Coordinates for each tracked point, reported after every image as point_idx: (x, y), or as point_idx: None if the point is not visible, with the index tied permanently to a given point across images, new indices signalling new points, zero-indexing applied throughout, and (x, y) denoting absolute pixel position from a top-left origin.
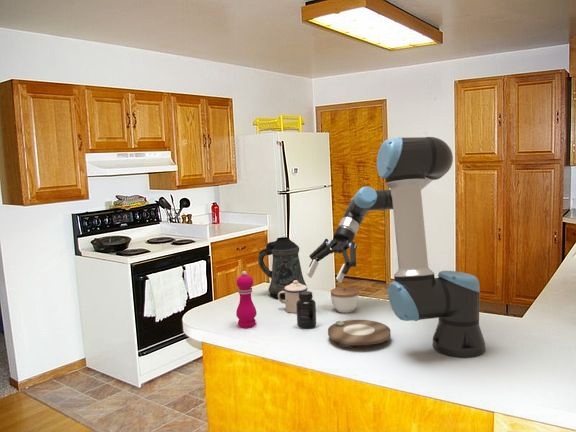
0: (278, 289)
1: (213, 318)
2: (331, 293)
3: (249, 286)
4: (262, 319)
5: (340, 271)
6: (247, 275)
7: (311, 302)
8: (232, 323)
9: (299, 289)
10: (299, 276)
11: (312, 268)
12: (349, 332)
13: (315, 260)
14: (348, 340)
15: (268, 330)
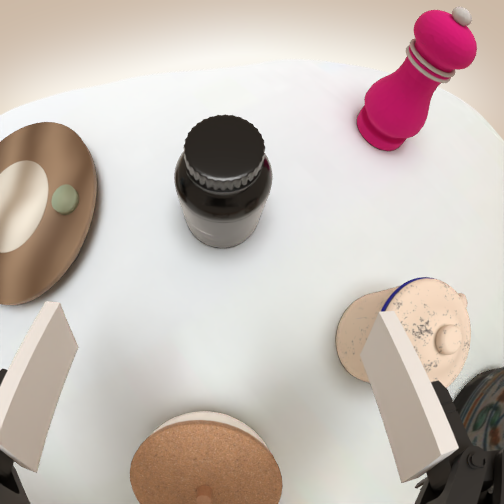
0: (502, 377)
1: (465, 139)
2: (247, 434)
3: (414, 34)
4: (389, 186)
5: (20, 358)
6: (452, 21)
7: (180, 162)
8: None
9: None
10: None
11: (397, 382)
12: (26, 169)
13: (434, 452)
14: (20, 130)
15: (300, 122)
